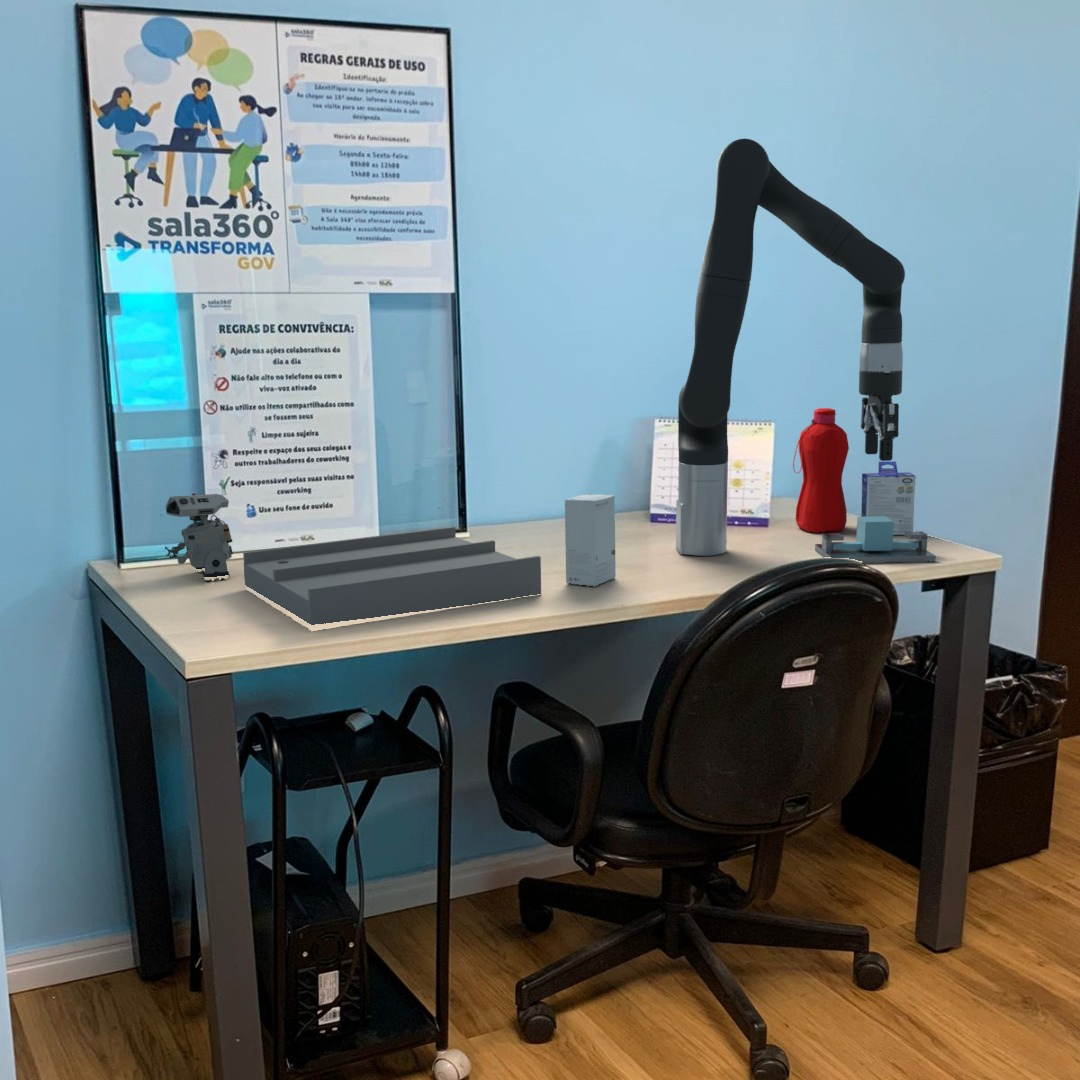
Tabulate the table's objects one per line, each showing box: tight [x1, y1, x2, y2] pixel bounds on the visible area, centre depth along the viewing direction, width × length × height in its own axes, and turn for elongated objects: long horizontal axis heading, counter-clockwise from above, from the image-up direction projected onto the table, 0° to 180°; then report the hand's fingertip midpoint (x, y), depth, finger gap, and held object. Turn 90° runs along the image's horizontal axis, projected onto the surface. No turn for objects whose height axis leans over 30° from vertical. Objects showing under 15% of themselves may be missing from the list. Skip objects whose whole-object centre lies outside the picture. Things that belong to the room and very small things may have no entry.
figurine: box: [164, 492, 234, 577], centre depth 218 cm, size 9×12×15 cm
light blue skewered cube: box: [832, 516, 919, 551], centre depth 228 cm, size 16×5×5 cm, turn 92°
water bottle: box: [792, 407, 850, 534], centre depth 252 cm, size 9×11×25 cm
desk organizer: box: [242, 526, 542, 625], centre depth 206 cm, size 32×40×7 cm
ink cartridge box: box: [860, 461, 916, 536], centre depth 249 cm, size 10×6×14 cm, turn 89°
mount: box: [814, 530, 937, 564], centre depth 229 cm, size 19×12×6 cm, turn 92°
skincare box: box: [564, 493, 616, 588], centre depth 211 cm, size 8×6×15 cm
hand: (878, 457), depth 226 cm, fingers open, 8 cm apart
